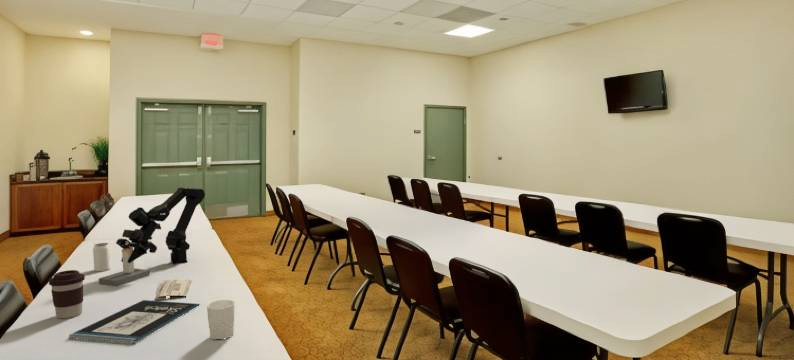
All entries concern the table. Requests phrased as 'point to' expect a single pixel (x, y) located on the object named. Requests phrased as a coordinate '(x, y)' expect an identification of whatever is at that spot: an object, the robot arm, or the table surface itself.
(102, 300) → the table surface
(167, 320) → the sketchbook
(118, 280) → the console
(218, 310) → the white cup
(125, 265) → the fader knob
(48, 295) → the table surface
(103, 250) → the can
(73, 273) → the coffee cup
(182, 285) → the open book
